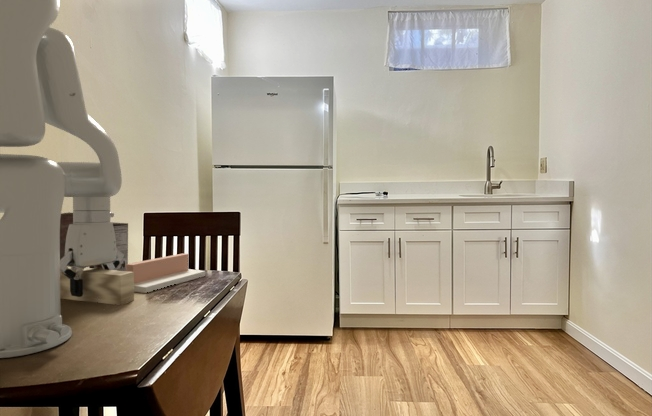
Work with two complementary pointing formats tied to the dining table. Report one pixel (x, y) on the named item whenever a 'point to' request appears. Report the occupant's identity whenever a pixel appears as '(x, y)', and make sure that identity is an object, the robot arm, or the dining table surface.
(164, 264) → the stand
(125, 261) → the coffee box
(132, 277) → the maple bar
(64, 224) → the candle
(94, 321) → the dining table surface
